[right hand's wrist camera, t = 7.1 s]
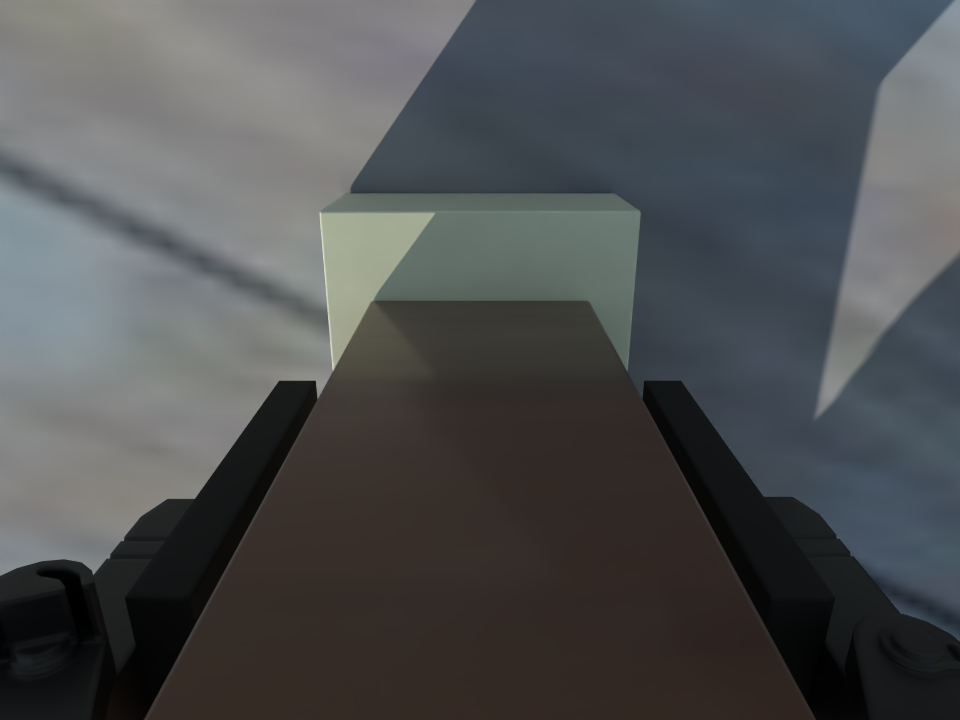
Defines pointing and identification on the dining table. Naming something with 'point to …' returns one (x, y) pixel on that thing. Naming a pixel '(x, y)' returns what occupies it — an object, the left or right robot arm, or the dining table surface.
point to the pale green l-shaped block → (480, 253)
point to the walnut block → (479, 546)
